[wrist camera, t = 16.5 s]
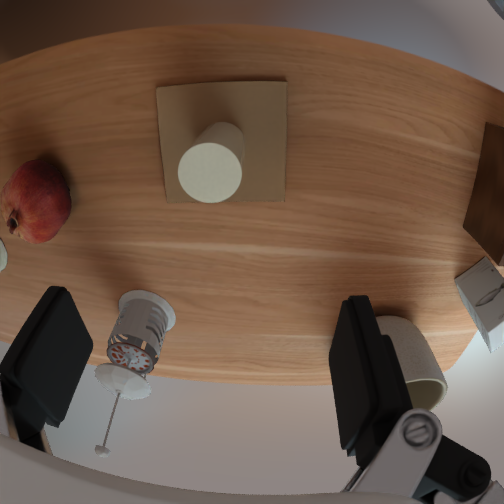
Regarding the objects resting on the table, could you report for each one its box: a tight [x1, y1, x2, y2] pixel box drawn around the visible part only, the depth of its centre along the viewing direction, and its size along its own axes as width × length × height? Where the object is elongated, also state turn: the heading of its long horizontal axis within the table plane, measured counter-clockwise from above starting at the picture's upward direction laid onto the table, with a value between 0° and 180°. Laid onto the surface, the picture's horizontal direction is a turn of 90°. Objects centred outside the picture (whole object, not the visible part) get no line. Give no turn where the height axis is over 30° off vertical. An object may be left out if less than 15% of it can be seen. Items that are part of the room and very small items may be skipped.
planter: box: [376, 316, 447, 411], centre depth 44 cm, size 17×17×15 cm
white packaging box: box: [455, 257, 504, 353], centre depth 38 cm, size 7×7×13 cm
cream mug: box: [178, 122, 246, 203], centre depth 29 cm, size 7×5×10 cm
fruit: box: [1, 160, 71, 244], centre depth 32 cm, size 11×10×10 cm
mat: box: [156, 81, 288, 203], centre depth 33 cm, size 14×14×1 cm
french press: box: [95, 290, 176, 457], centre depth 38 cm, size 10×12×25 cm
